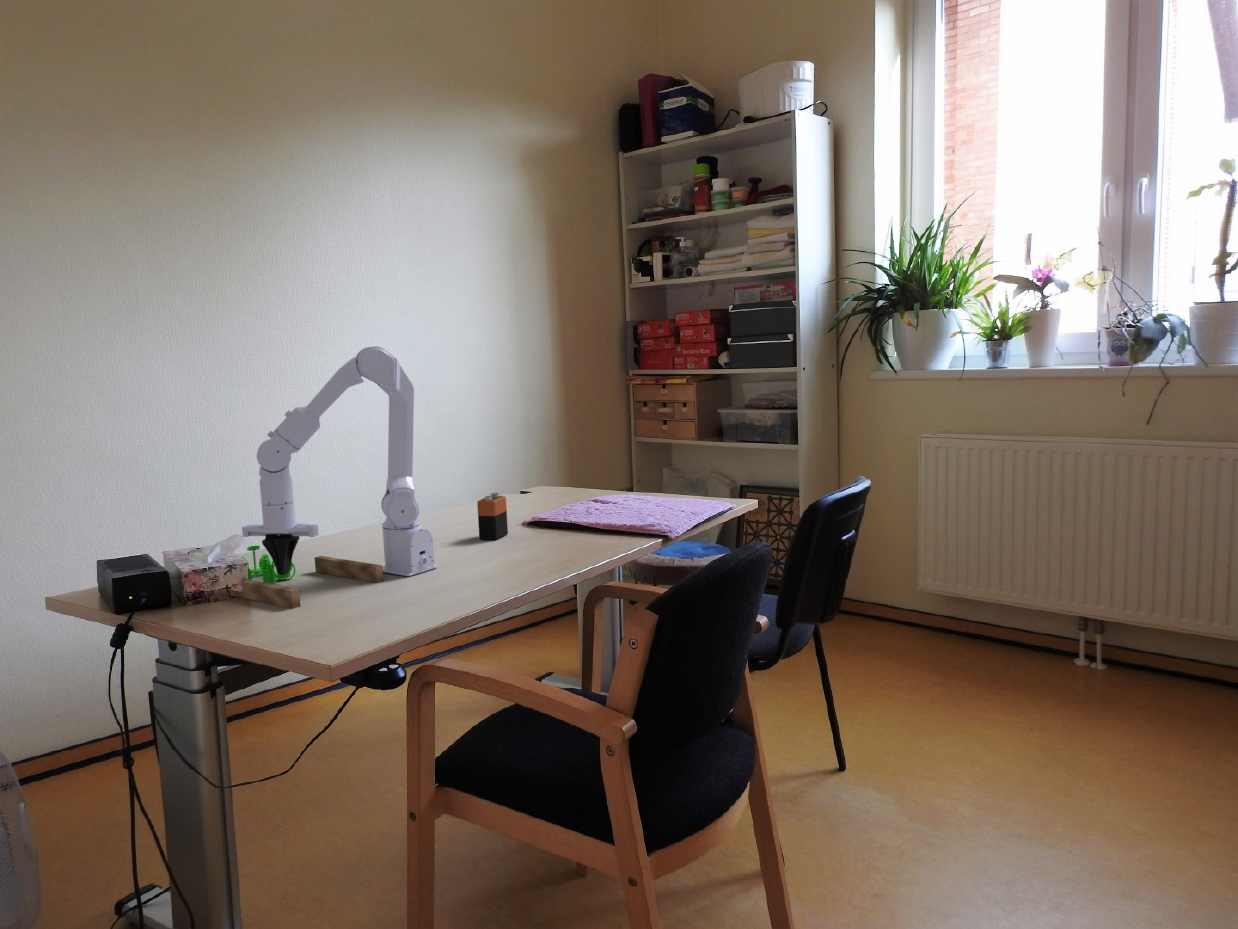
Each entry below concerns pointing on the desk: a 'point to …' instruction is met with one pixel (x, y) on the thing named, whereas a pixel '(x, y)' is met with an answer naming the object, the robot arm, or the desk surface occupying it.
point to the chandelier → (266, 568)
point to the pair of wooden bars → (322, 565)
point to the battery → (492, 517)
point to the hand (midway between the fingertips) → (283, 573)
